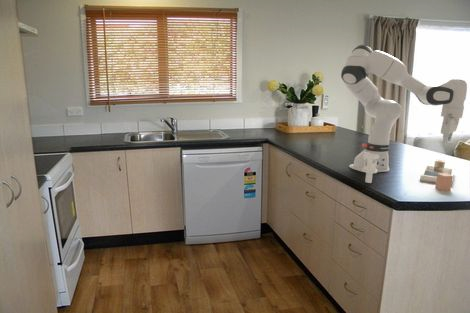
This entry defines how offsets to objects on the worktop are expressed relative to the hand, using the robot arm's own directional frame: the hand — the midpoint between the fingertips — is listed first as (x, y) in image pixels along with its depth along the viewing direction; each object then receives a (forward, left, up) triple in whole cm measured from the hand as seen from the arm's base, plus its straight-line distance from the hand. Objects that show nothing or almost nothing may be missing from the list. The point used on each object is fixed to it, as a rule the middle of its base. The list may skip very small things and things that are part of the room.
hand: (446, 141), depth 173 cm
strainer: (-34, +14, -21) cm, 42 cm away
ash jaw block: (+12, +10, -20) cm, 26 cm away
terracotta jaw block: (-8, -7, -21) cm, 24 cm away
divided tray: (+7, +7, -21) cm, 23 cm away
